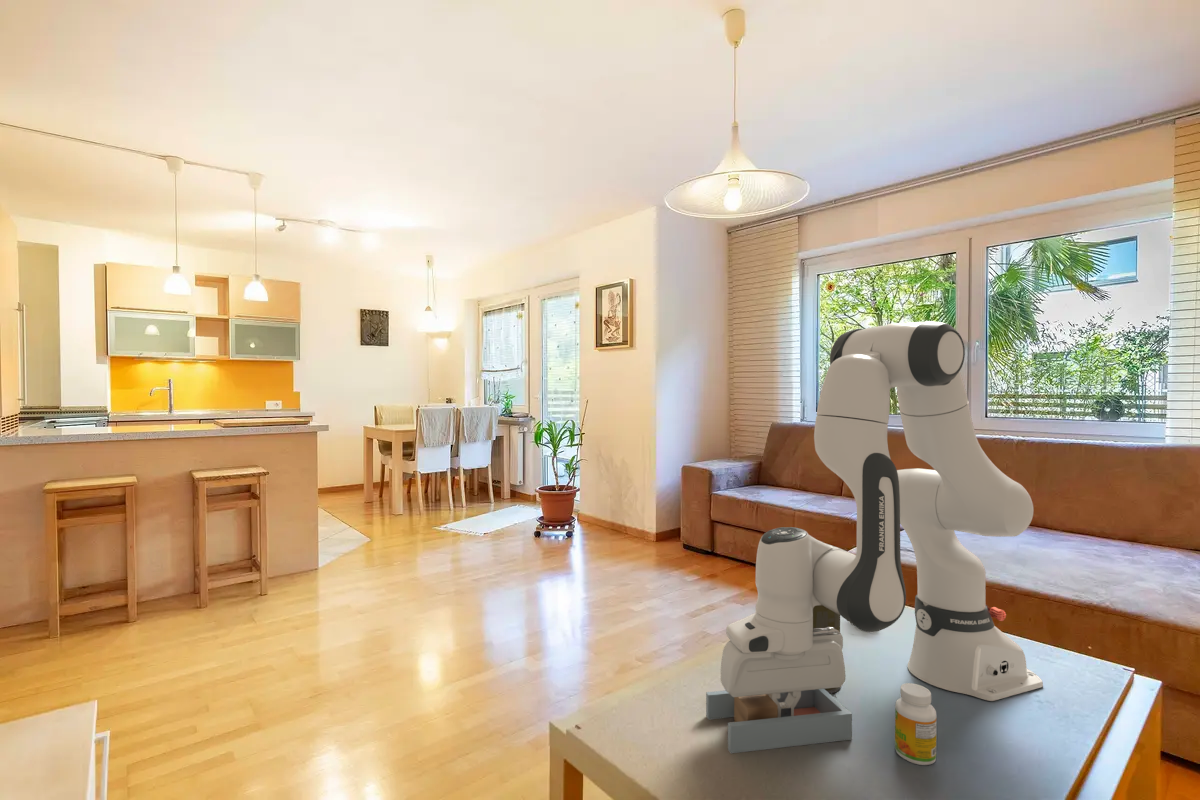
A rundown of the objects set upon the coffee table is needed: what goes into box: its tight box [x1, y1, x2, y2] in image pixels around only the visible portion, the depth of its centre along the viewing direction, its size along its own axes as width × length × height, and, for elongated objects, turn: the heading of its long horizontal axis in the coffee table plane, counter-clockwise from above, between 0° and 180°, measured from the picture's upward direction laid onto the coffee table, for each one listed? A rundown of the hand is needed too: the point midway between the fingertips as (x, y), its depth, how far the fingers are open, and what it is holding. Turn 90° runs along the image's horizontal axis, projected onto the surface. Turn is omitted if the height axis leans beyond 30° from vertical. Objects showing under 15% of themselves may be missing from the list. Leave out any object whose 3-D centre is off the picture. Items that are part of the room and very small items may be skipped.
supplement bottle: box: [894, 682, 938, 766], centre depth 84 cm, size 5×5×10 cm
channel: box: [705, 689, 853, 754], centre depth 91 cm, size 20×10×4 cm, turn 100°
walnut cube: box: [733, 694, 778, 722], centre depth 90 cm, size 5×5×5 cm
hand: (783, 716), depth 91 cm, fingers closed
